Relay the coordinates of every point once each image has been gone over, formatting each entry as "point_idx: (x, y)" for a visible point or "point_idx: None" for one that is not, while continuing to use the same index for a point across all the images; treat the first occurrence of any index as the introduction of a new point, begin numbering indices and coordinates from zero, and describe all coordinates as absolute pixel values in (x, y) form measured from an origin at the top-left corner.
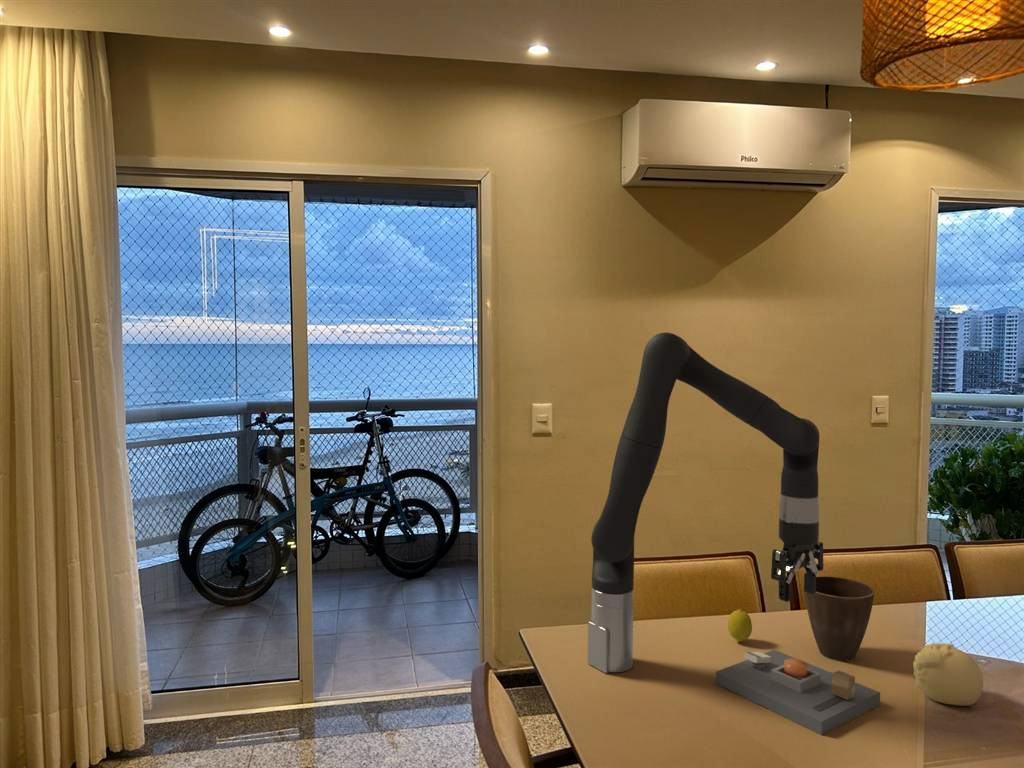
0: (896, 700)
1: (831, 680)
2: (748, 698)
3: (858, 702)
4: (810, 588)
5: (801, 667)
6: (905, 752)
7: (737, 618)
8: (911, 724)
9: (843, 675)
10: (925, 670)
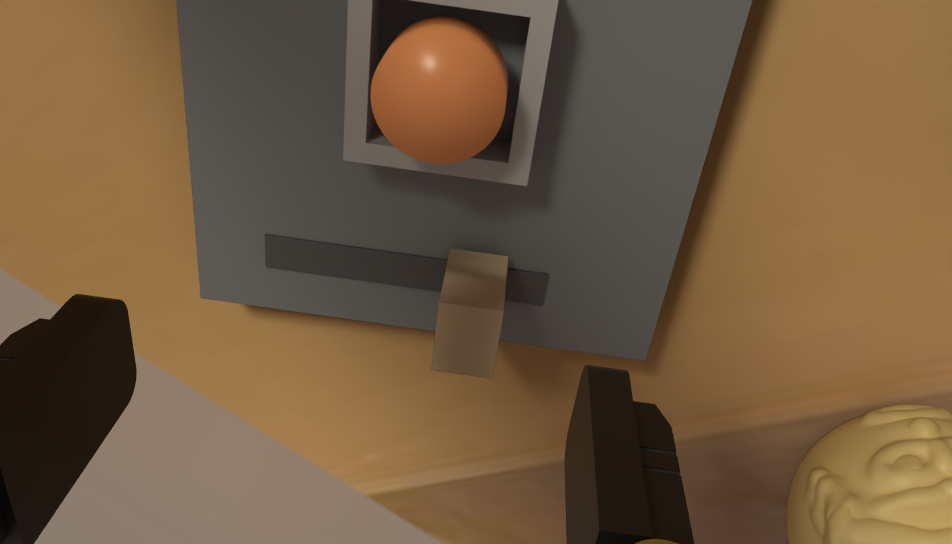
0: (730, 355)
1: (609, 184)
2: None
3: None
4: (572, 459)
5: (411, 148)
6: (361, 460)
7: None
8: (563, 431)
9: (458, 344)
10: (817, 529)
